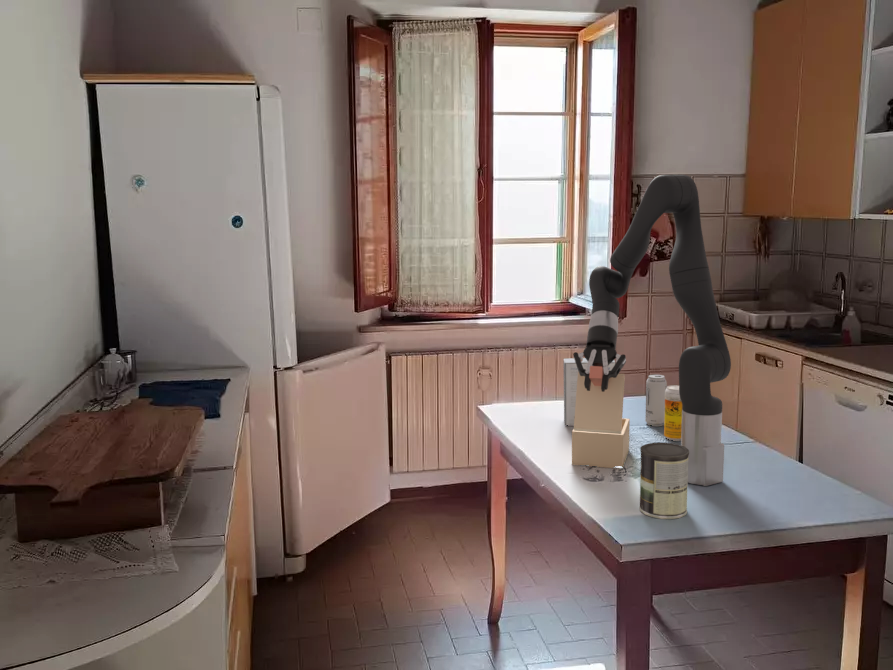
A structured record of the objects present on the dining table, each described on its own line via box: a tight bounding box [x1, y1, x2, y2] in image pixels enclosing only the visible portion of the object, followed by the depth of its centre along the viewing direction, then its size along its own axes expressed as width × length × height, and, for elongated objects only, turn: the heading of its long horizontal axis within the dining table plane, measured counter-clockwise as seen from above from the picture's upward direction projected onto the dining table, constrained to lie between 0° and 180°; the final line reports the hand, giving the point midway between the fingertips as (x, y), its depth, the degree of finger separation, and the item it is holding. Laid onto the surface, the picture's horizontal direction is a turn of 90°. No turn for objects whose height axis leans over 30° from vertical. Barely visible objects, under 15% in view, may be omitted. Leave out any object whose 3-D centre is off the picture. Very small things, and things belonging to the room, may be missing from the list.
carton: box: [571, 417, 631, 469], centre depth 214 cm, size 16×13×9 cm
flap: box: [573, 366, 626, 434], centre depth 203 cm, size 15×12×11 cm
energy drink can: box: [644, 374, 668, 427], centre depth 244 cm, size 6×6×15 cm
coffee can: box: [639, 442, 689, 520], centre depth 176 cm, size 10×10×14 cm
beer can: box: [663, 384, 682, 442], centre depth 229 cm, size 6×6×15 cm
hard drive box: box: [563, 357, 616, 427], centre depth 246 cm, size 16×8×20 cm, turn 84°
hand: (595, 389), depth 200 cm, fingers closed on flap, 3 cm apart
